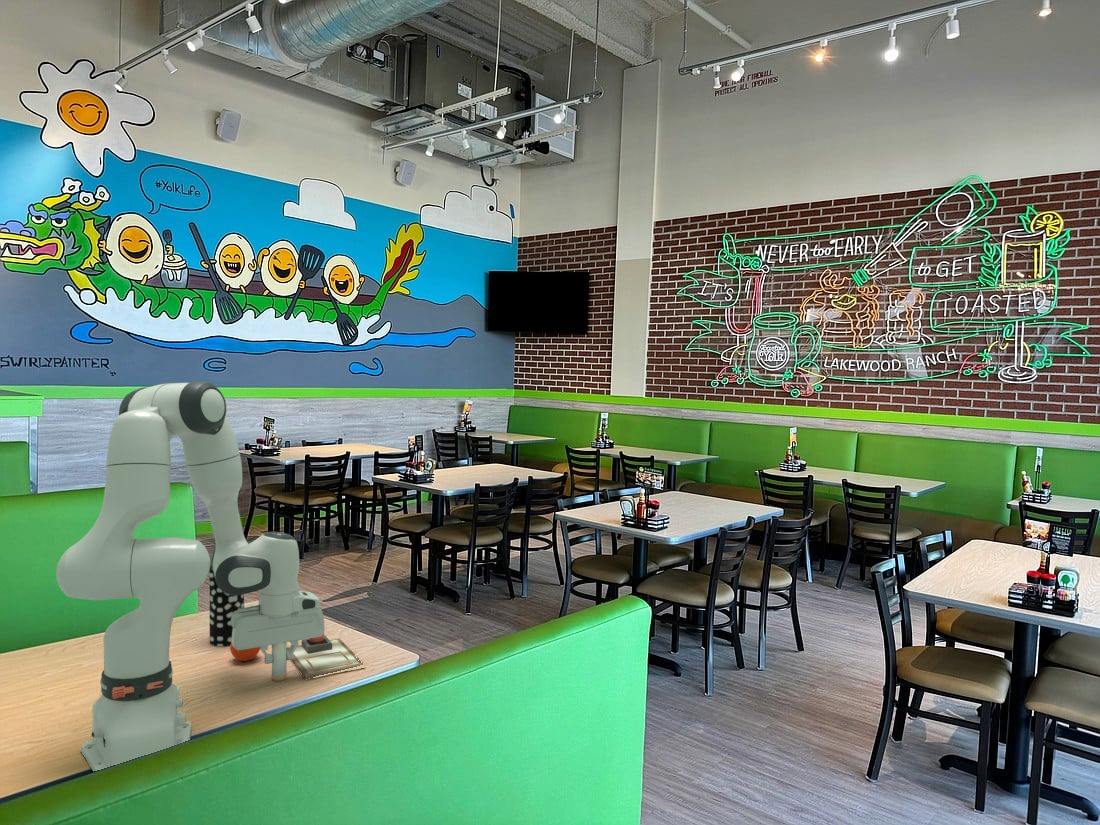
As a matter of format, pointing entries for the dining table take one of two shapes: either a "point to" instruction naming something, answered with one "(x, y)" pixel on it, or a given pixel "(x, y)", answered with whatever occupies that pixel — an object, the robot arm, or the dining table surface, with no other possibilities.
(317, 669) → the board
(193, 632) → the dining table surface
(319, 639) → the button
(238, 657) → the clementine
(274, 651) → the cylinder
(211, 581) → the spotted tube
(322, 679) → the dining table surface
